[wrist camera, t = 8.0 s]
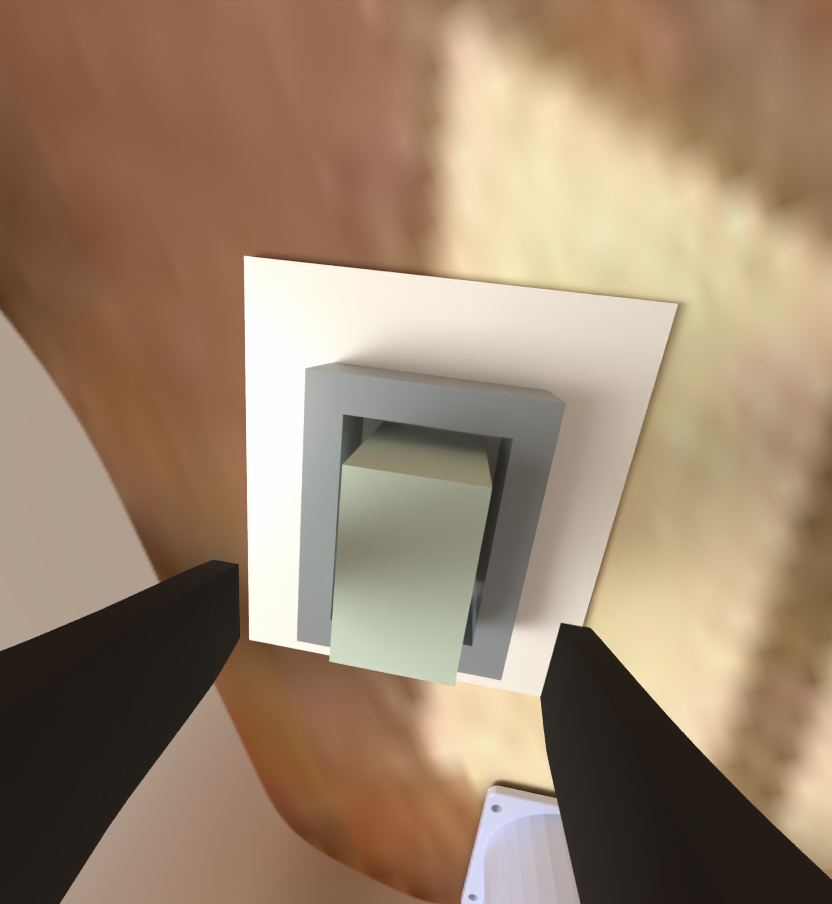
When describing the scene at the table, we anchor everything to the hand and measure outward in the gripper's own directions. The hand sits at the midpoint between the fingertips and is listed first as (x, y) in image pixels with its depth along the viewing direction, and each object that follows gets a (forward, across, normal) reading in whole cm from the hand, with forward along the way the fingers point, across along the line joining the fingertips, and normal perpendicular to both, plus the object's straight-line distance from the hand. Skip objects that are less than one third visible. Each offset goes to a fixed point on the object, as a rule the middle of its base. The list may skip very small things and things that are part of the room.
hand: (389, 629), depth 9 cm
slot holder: (+7, 0, 0) cm, 7 cm away
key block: (+7, 0, 0) cm, 7 cm away
